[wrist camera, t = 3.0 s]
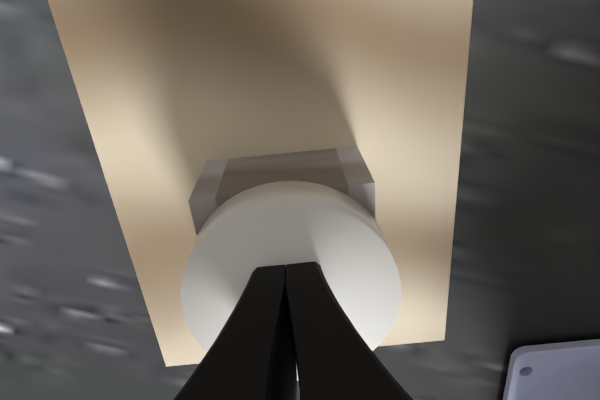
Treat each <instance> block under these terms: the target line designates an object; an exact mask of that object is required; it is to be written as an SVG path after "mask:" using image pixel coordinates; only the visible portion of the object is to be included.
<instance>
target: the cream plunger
mask: <svg viewBox="0 0 600 400" xmlns="http://www.w3.org/2000/svg"><path fill="white" fill-rule="evenodd" d="M313 261H315V262H317V263H318V264H319V265H321V269H322V271H323V274H324V276H325V278H326V281H327V283H328V285H329V287H330V288H331V290H332V292H333V294H334V296H335V297H336V299H337V301H338V303H339V304H340V306H341V307H342V309H343V311H344V312H345V314H346V315H347V317H348V318H349V320H350V321H351V323H352V324H353V326H354V327H355V329H356V330H357V331H358V333H359V334H360V336H361V337H362V338H363V340H364V341H365V343H366V344H367V345H368V346H369V348H370V349H371V350H372V351H373V350H374V349H375V348H376V347H377V346H378V345H379V344H380V343H381V342H382V341H383V340H384V338H385V337H386V336H387V334H388V333H389V331H390V329H391V328H392V326H393V324H394V322H395V320H396V317H397V315H398V311H399V307H400V302H401V280H400V276H399V272H398V269H397V266H396V264H395V261H394V259H393V257H392V254H391V252H390V249H389V247H388V245H387V242H386V240H385V237H384V235H383V233H382V230H381V228H380V227H379V225H378V223H377V222H376V220H375V219H374V218H373V217H372V215H371V214H370V213H369V212H368V211H367V210H366V209H365V208H364V207H363V206H362V205H361V204H360V203H358V202H357V201H355V200H354V199H352V198H351V197H349V196H348V195H346V194H344V193H342V192H340V191H338V190H336V189H333V188H330V187H327V186H324V185H321V184H316V183H311V182H303V181H279V182H272V183H266V184H263V185H259V186H256V187H252V188H250V189H247V190H245V191H243V192H240V193H239V194H237V195H235V196H233V197H232V198H230V199H228V200H227V201H226V202H224V203H223V204H222V205H221V206H219V207H218V208H217V209H216V210H215V211H214V212H213V213H212V214H211V215H210V216H209V217H208V219H207V220H206V222H205V223H204V224H203V226H202V227H201V229H200V231H199V233H198V235H197V237H196V240H195V243H194V246H193V249H192V251H191V254H190V257H189V260H188V263H187V266H186V268H185V272H184V275H183V278H182V283H181V290H180V299H181V308H182V313H183V316H184V319H185V322H186V324H187V326H188V328H189V330H190V332H191V334H192V335H193V337H194V338H195V339H196V341H197V342H198V343H199V344H200V345H201V346H202V347H203V348H204V349H205V350H206V352H208V350H209V349H210V347H211V346H212V345H213V343H214V341H215V340H216V338H217V337H218V335H219V333H220V332H221V330H222V328H223V327H224V325H225V323H226V322H227V320H228V318H229V317H230V315H231V313H232V311H233V310H234V308H235V306H236V304H237V302H238V301H239V299H240V297H241V295H242V293H243V291H244V289H245V287H246V285H247V283H248V281H249V279H250V277H251V274H252V272H253V271H254V270H255V269H256V268H257V267H263V266H274V265H284V264H285V265H286V264H294V263H304V262H313ZM296 367H297V365H296ZM297 381H299V380H298V373H297Z"/></svg>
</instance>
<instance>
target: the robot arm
mask: <svg viewBox="0 0 600 400" xmlns="http://www.w3.org/2000/svg"><path fill="white" fill-rule="evenodd" d="M296 365H297V367H296ZM297 373H298V380H299V387H300V400H413V399H412V398H411V397H410V396H409V394H408V393H407V392H406V391H405V390H404V389H403V388H402V387H401V386H400V384H399V383H398V382H397V381H396V380H395V379H394V378H393V376H392V375H391V374H390V373H389V372H388V370H387V369H386V368H385V367H384V366H383V364H382V363H381V362H380V361H379V359H378V358H377V357H376V355H375V354H374V353H373V352H372V350H371V349H370V348H369V346H368V345H367V344H366V343H365V341H364V340H363V338H362V337H361V336H360V334H359V333H358V331H357V330H356V329H355V327H354V326H353V324H352V323H351V321H350V320H349V318H348V317H347V315H346V314H345V312H344V311H343V309H342V307H341V306H340V304H339V303H338V301H337V299H336V297H335V296H334V294H333V292H332V290H331V288H330V287H329V285H328V283H327V281H326V278H325V276H324V274H323V271H322V269H321V265H319V264H318V263H317V262H315V261H313V262H304V263H294V264H286V265H285V264H284V265H274V266H263V267H257V268H256V269H255V270H254V271H253V272H252V274H251V277H250V279H249V281H248V283H247V285H246V287H245V289H244V291H243V293H242V295H241V297H240V299H239V301H238V302H237V304H236V306H235V308H234V310H233V311H232V313H231V315H230V317H229V318H228V320H227V322H226V323H225V325H224V327H223V328H222V330H221V332H220V333H219V335H218V337H217V338H216V340H215V341H214V343H213V345H212V346H211V347H210V349H209V350H208V352H207V353H206V355H205V356H204V358H203V359H202V361H201V362H200V364H199V365H198V367H197V368H196V370H195V371H194V373H193V374H192V375H191V377H190V378H189V380H188V381H187V382H186V384H185V385H184V386H183V388H182V389H181V390H180V392H179V393H178V394H177V396H176V397H175V398H174V400H296V395H297ZM503 400H600V339H593V340H582V341H572V342H561V343H550V344H540V345H529V346H522V347H519V348H517V349H515V350H514V351H513V352H512V355H511V357H510V363H509V368H508V373H507V379H506V384H505V390H504V395H503Z"/></svg>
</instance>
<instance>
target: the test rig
mask: <svg viewBox="0 0 600 400" xmlns="http://www.w3.org/2000/svg"><path fill="white" fill-rule="evenodd" d="M48 3H49V6H50V9H51V12H52V15H53V18H54V21H55V24H56V27H57V30H58V34H59V37H60V40H61V43H62V46H63V49H64V52H65V55H66V58H67V61H68V64H69V68H70V71H71V74H72V77H73V80H74V83H75V86H76V89H77V92H78V95H79V98H80V102H81V105H82V108H83V111H84V114H85V117H86V120H87V123H88V126H89V129H90V132H91V136H92V139H93V142H94V145H95V148H96V151H97V154H98V157H99V160H100V163H101V166H102V170H103V173H104V176H105V179H106V182H107V185H108V188H109V191H110V194H111V197H112V200H113V203H114V207H115V210H116V213H117V216H118V219H119V222H120V225H121V228H122V231H123V234H124V237H125V241H126V244H127V247H128V250H129V253H130V256H131V259H132V262H133V265H134V268H135V271H136V275H137V278H138V281H139V284H140V287H141V290H142V293H143V296H144V299H145V302H146V305H147V309H148V312H149V315H150V318H151V321H152V324H153V327H154V330H155V333H156V336H157V339H158V343H159V346H160V349H161V352H162V355H163V358H164V361H165V364H166V366H177V365H187V364H198V363H200V362H201V361H202V359H203V358H204V356H205V355H206V353H207V352H206V350H205V349H204V348H203V347H202V346H201V345H200V344H199V343H198V342H197V341H196V339H195V338H194V337H193V335H192V334H191V332H190V330H189V328H188V326H187V324H186V322H185V319H184V316H183V313H182V308H181V299H180V290H181V283H182V278H183V275H184V272H185V268H186V266H187V263H188V260H189V257H190V254H191V251H192V249H193V246H194V243H195V240H196V237H197V235H198V233H199V231H200V229H201V227H202V226H203V224H204V223H205V222H206V220H207V219H208V217H209V216H210V215H211V214H212V213H213V212H214V211H215V210H216V209H217V208H218V207H219V206H221V205H222V204H223V203H224V202H226V201H227V200H228V199H230V198H232V197H233V196H235V195H237V194H239V193H240V192H243V191H245V190H247V189H250V188H252V187H256V186H259V185H263V184H266V183H272V182H279V181H303V182H311V183H316V184H321V185H324V186H327V187H330V188H333V189H336V190H338V191H340V192H342V193H344V194H346V195H348V196H349V197H351V198H352V199H354V200H355V201H357V202H358V203H360V204H361V205H362V206H363V207H364V208H365V209H366V210H367V211H368V212H369V213H370V214H371V215H372V217H373V218H374V219H375V220H376V222H377V223H378V225H379V227H380V228H381V230H382V233H383V235H384V237H385V240H386V242H387V245H388V247H389V249H390V252H391V254H392V257H393V259H394V261H395V264H396V266H397V269H398V272H399V276H400V280H401V302H400V307H399V311H398V315H397V317H396V320H395V322H394V324H393V326H392V328H391V329H390V331H389V333H388V334H387V336H386V337H385V338H384V340H383V341H382V342H381V343H380V344H379V345H378V346H388V345H398V344H409V343H419V342H430V341H440V340H444V339H445V327H446V315H447V303H448V291H449V280H450V268H451V256H452V244H453V232H454V220H455V209H456V197H457V185H458V173H459V161H460V150H461V138H462V126H463V114H464V102H465V91H466V79H467V67H468V55H469V43H470V32H471V20H472V8H473V0H48Z"/></svg>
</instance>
